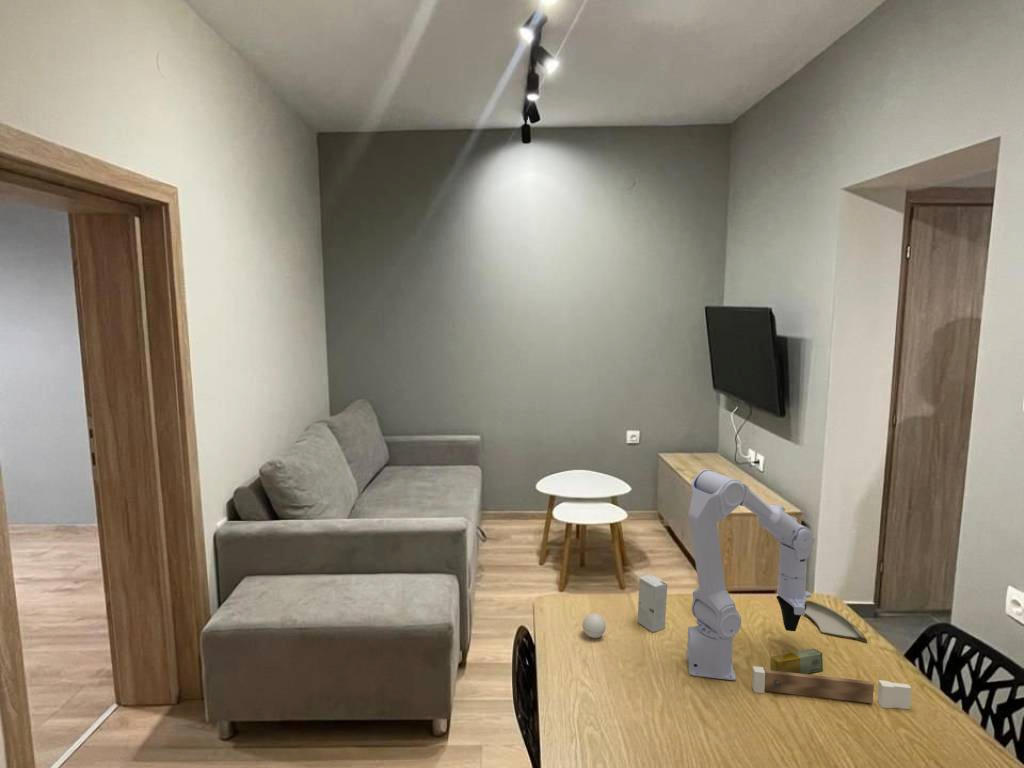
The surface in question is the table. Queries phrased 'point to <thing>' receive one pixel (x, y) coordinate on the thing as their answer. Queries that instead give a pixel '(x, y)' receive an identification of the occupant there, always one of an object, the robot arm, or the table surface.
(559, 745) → the table surface
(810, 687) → the brown wooden plank
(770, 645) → the table surface
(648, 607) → the skincare box
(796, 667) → the medication box
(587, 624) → the white ball
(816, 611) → the ceramic fragment
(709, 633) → the robot arm
